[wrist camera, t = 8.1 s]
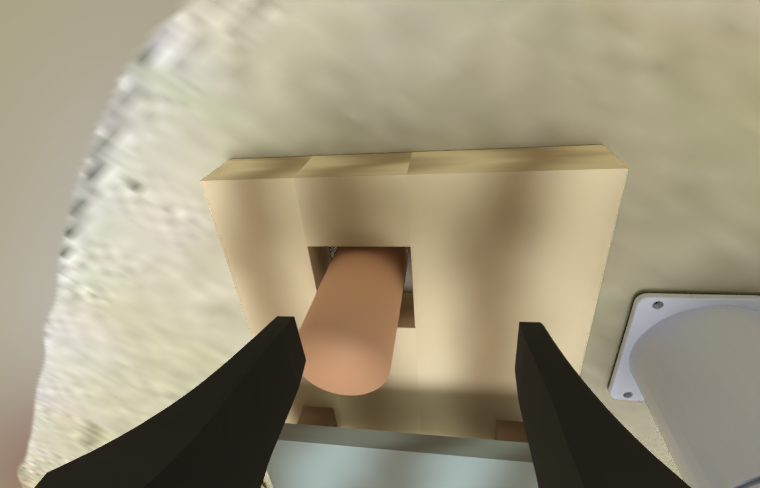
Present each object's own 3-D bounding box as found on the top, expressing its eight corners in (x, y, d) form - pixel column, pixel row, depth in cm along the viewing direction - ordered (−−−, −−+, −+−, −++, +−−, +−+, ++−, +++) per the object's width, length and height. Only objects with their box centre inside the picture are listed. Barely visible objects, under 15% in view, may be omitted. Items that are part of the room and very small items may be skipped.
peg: (408, 224, 21) (390, 327, 15) (408, 285, 23) (391, 400, 17) (335, 221, 22) (284, 319, 15) (341, 280, 24) (298, 390, 17)
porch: (602, 144, 18) (679, 215, 12) (551, 408, 27) (579, 523, 21) (230, 159, 21) (143, 221, 15) (296, 391, 30) (258, 487, 24)
